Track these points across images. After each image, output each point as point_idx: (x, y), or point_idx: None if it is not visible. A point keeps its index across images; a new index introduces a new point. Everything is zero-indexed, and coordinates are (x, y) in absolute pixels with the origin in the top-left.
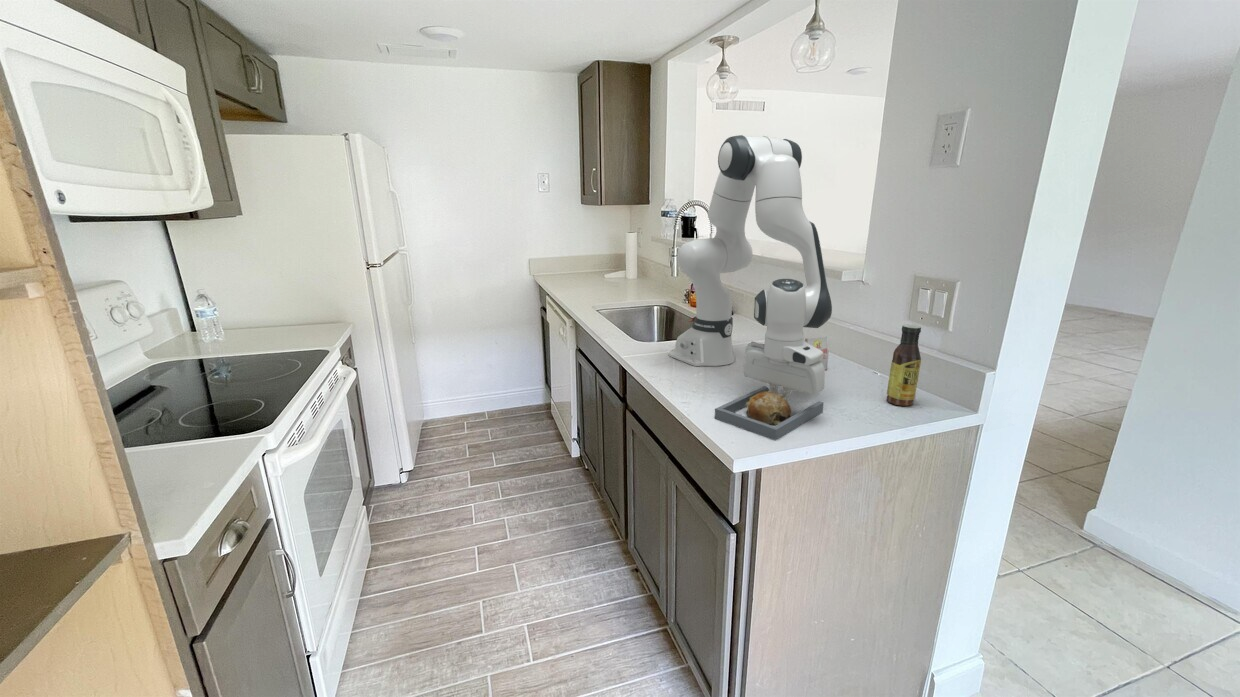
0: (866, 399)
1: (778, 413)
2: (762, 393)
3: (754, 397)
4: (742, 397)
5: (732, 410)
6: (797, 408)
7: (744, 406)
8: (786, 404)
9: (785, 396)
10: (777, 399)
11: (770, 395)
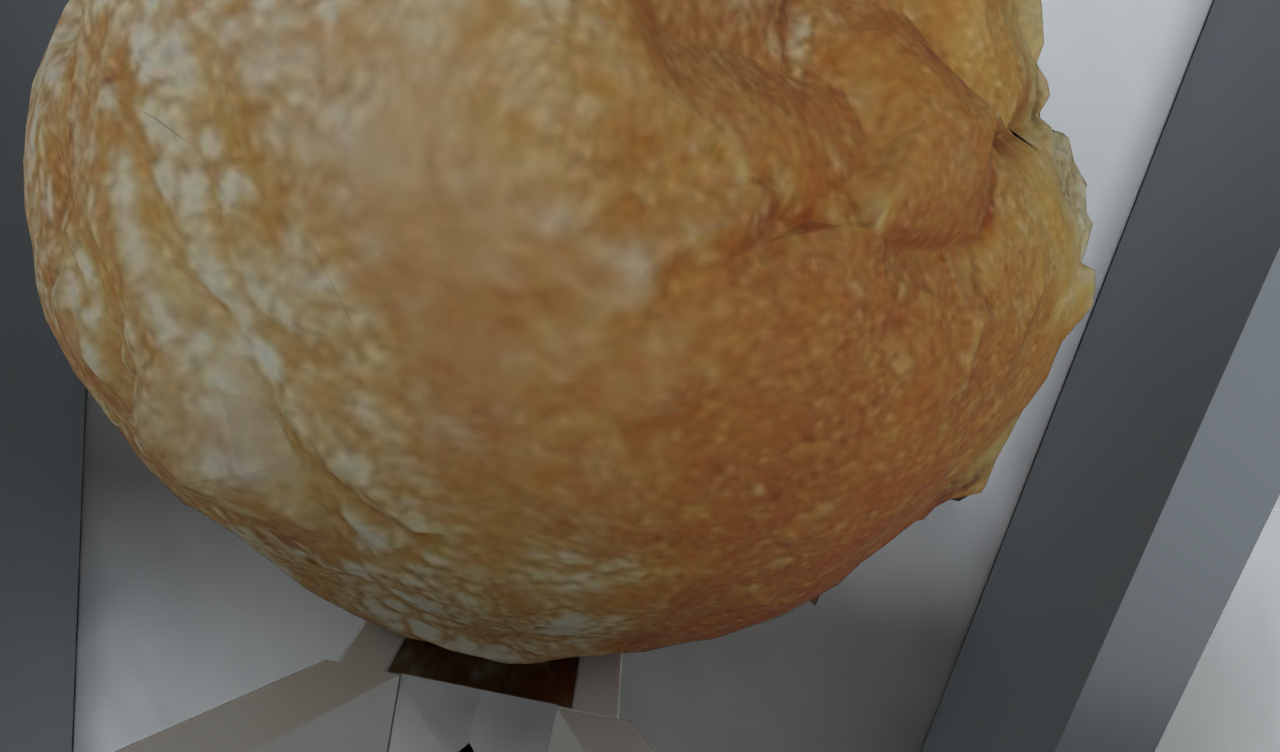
0: None
1: None
2: (774, 246)
3: (977, 98)
4: (1244, 461)
5: (1251, 7)
6: None
7: (1069, 398)
8: (27, 220)
9: (287, 700)
10: (111, 42)
11: (349, 24)
